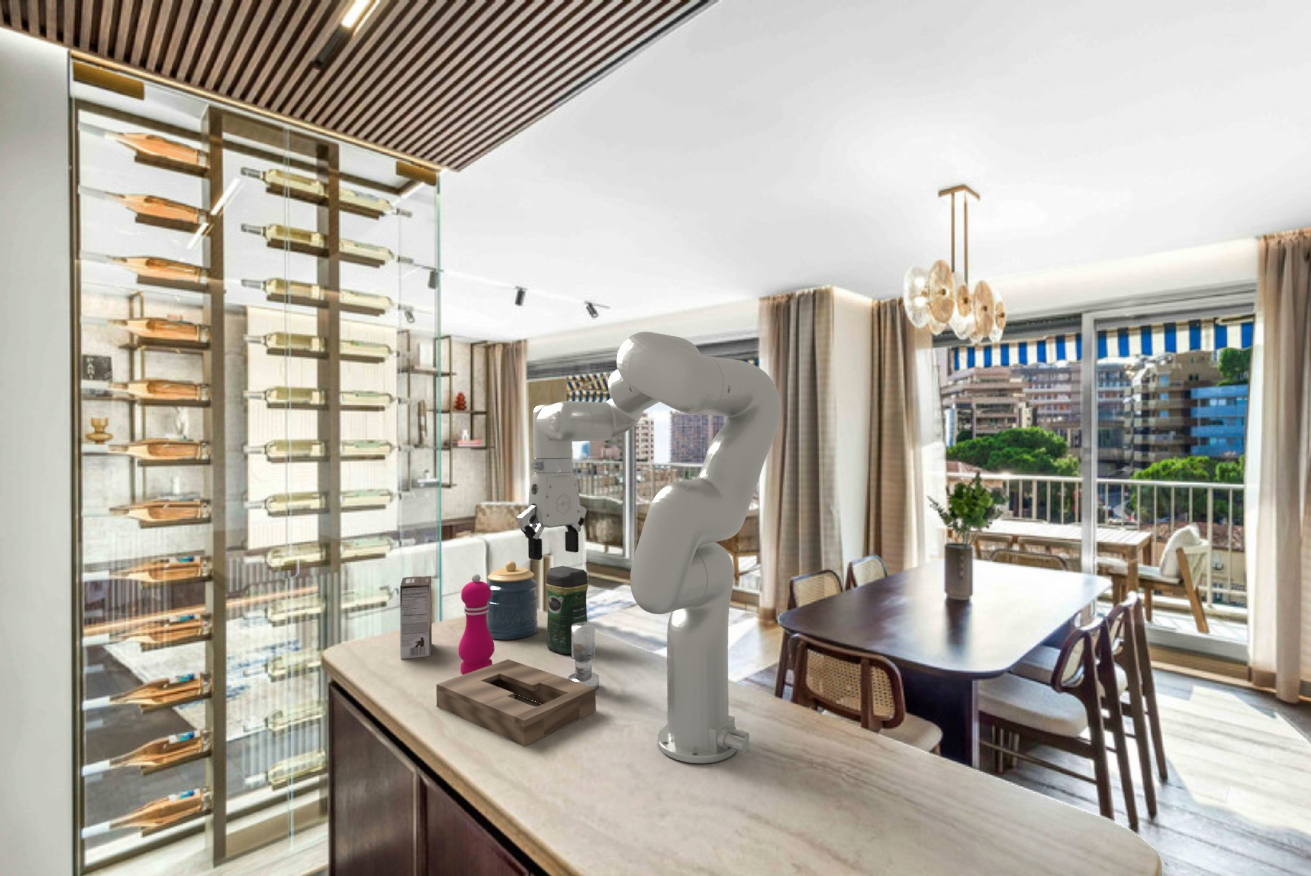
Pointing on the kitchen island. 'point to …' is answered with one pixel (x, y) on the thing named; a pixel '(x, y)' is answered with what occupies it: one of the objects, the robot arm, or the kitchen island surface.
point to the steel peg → (584, 654)
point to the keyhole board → (494, 706)
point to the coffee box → (415, 617)
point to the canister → (512, 603)
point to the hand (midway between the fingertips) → (554, 555)
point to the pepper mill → (476, 627)
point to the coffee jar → (565, 605)
